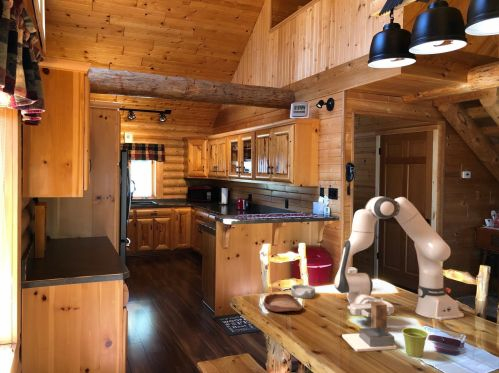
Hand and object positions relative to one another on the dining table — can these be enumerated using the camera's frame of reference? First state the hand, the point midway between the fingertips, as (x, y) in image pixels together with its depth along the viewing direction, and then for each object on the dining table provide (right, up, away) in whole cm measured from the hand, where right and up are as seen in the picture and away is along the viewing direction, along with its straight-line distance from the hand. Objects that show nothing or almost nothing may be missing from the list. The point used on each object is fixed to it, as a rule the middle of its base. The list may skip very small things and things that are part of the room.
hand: (379, 314), depth 183 cm
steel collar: (-6, -7, -14) cm, 17 cm away
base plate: (-9, -7, -14) cm, 18 cm away
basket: (-41, -7, +30) cm, 51 cm away
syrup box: (+2, -6, +60) cm, 60 cm away
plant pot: (+6, -8, -24) cm, 26 cm away
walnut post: (0, -7, +1) cm, 7 cm away
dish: (-27, -6, +53) cm, 60 cm away
